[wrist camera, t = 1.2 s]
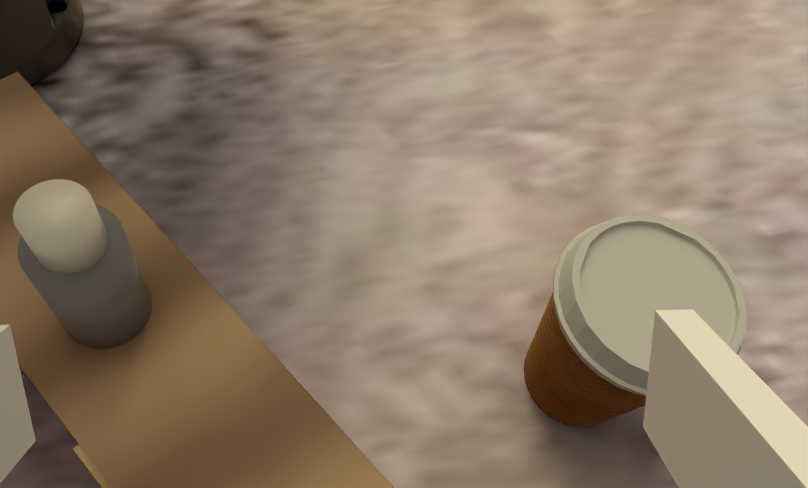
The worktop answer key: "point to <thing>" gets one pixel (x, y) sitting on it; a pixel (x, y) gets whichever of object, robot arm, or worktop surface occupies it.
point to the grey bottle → (81, 264)
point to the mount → (157, 351)
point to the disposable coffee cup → (623, 314)
